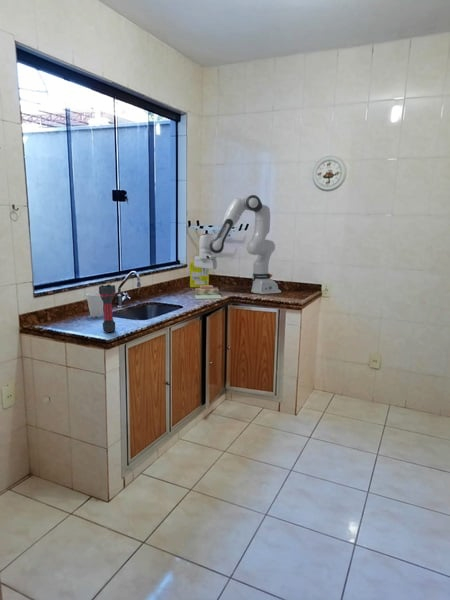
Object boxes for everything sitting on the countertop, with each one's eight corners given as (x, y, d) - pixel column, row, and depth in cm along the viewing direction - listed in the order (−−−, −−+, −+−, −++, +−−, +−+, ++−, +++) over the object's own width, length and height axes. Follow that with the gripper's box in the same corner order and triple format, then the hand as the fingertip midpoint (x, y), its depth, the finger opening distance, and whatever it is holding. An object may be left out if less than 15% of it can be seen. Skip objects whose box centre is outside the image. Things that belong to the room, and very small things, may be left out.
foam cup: (86, 315, 234) (84, 293, 232) (102, 314, 239) (101, 291, 236) (90, 319, 226) (88, 296, 224) (106, 317, 231) (105, 294, 228)
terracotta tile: (212, 287, 305) (212, 285, 305) (213, 289, 300) (213, 286, 299) (200, 288, 304) (200, 285, 304) (200, 289, 298) (200, 286, 298)
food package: (208, 287, 334) (208, 262, 330) (208, 287, 333) (208, 262, 329) (190, 286, 336) (189, 262, 332) (190, 287, 335) (189, 262, 331)
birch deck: (216, 292, 308) (216, 287, 307) (218, 295, 298) (218, 289, 297) (195, 293, 305) (195, 288, 305) (196, 295, 296) (196, 290, 295)
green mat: (219, 295, 297) (219, 294, 297) (222, 298, 285) (222, 298, 285) (195, 295, 295) (195, 295, 295) (196, 299, 282) (196, 298, 282)
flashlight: (110, 335, 195) (108, 287, 191) (97, 333, 198) (94, 286, 194) (121, 331, 202) (118, 284, 197) (108, 329, 205) (106, 283, 201)
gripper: (192, 254, 309) (192, 273, 312) (212, 257, 296) (212, 276, 299) (198, 254, 314) (197, 272, 317) (218, 256, 301) (217, 275, 304)
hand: (205, 274), depth 308 cm, fingers closed
